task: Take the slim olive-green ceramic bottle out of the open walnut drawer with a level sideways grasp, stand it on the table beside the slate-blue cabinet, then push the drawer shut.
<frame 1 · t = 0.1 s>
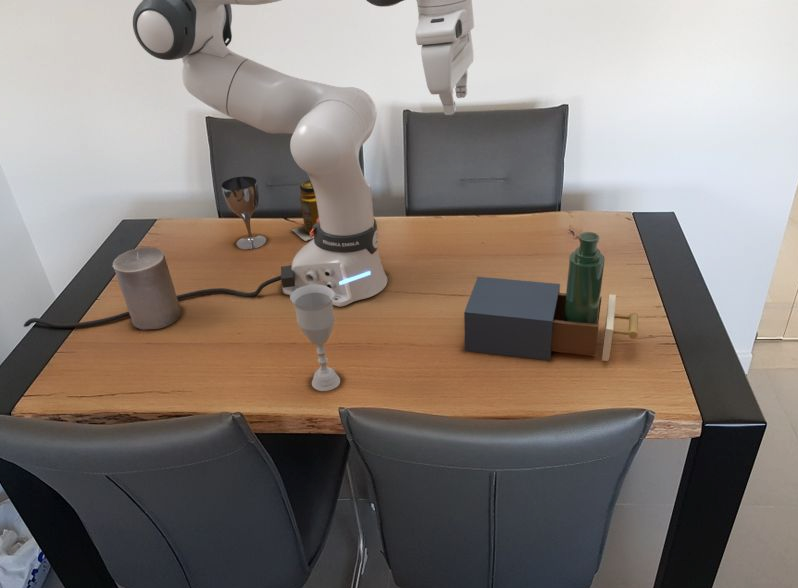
hand: (456, 104, 125), 39 cm above the table, tool pointing down, fingers open, 8 cm apart
cabinet: (511, 336, 134), on the table
pillar candle: (157, 318, 146), on the table
bottle: (579, 334, 130), point 2 cm above the table, touching drawer
chalice: (326, 382, 126), on the table
condiment: (314, 231, 174), on the table
shiny metal goblet: (251, 242, 171), on the table
drawer: (583, 324, 129), point 4 cm above the table, slide at 9.0 cm, touching bottle
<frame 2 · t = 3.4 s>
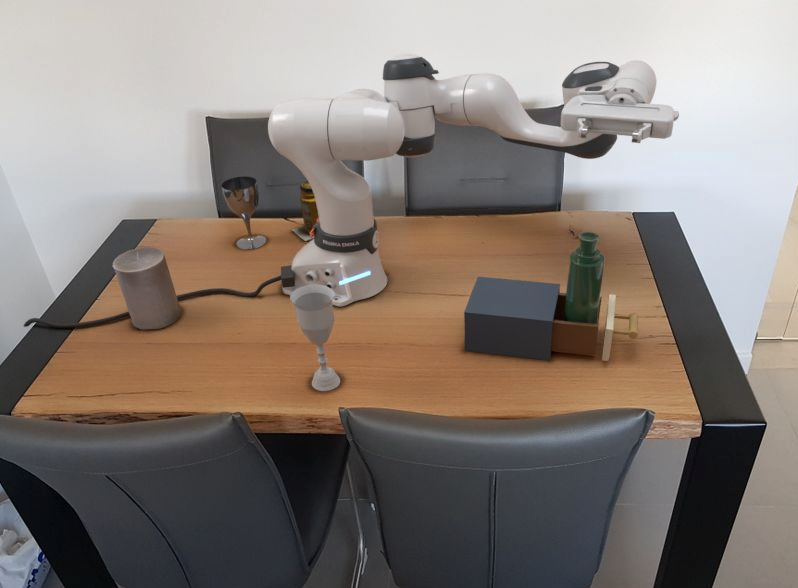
hand: (608, 136, 126), 32 cm above the table, tool horizontal, fingers open, 8 cm apart
nothing on the table moved.
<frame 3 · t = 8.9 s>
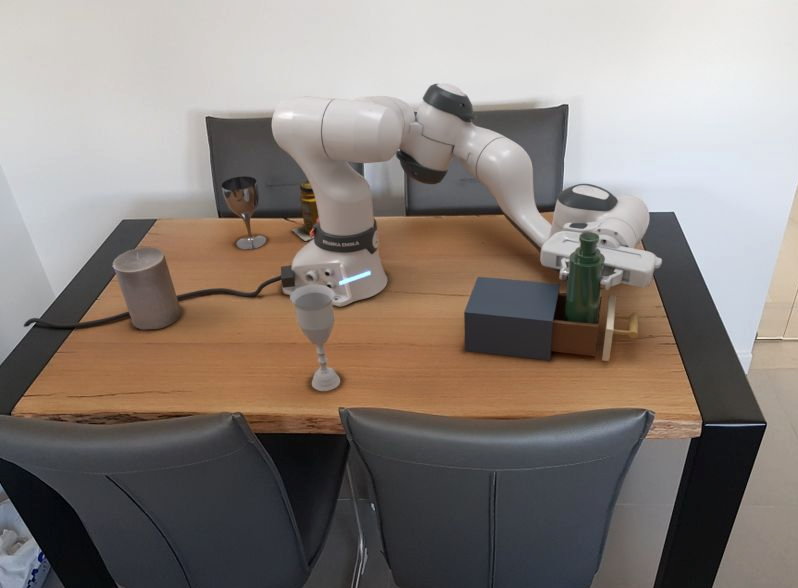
hand: (583, 281, 123), 14 cm above the table, tool horizontal, fingers closed on bottle, 6 cm apart
bottle: (579, 334, 130), point 2 cm above the table, touching drawer, gripper
everything else where it was.
when the fingers open (12 cm above the table, at t = 18.0 s): bottle stays where it is, on the table.
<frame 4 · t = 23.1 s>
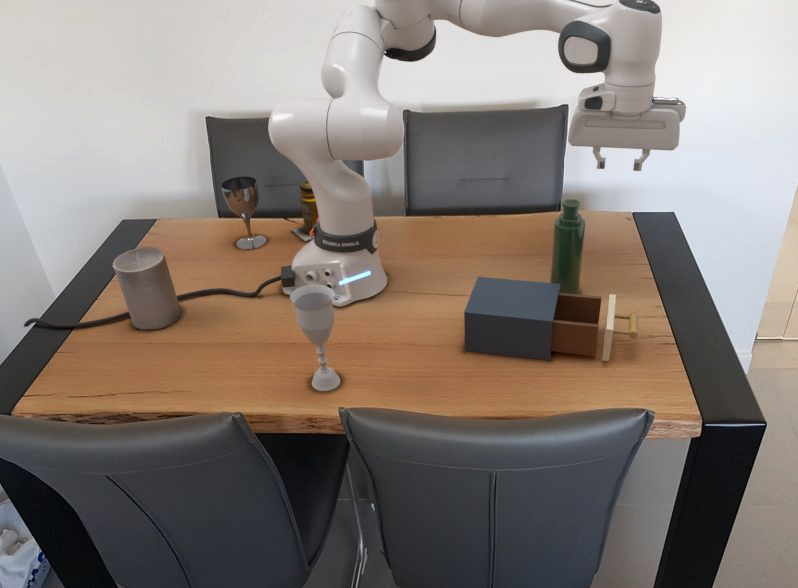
hand: (618, 168, 138), 23 cm above the table, tool pointing down, fingers open, 5 cm apart
bottle: (563, 293, 146), on the table
drawer: (583, 324, 129), point 4 cm above the table, slide at 9.0 cm
everything else where it was.
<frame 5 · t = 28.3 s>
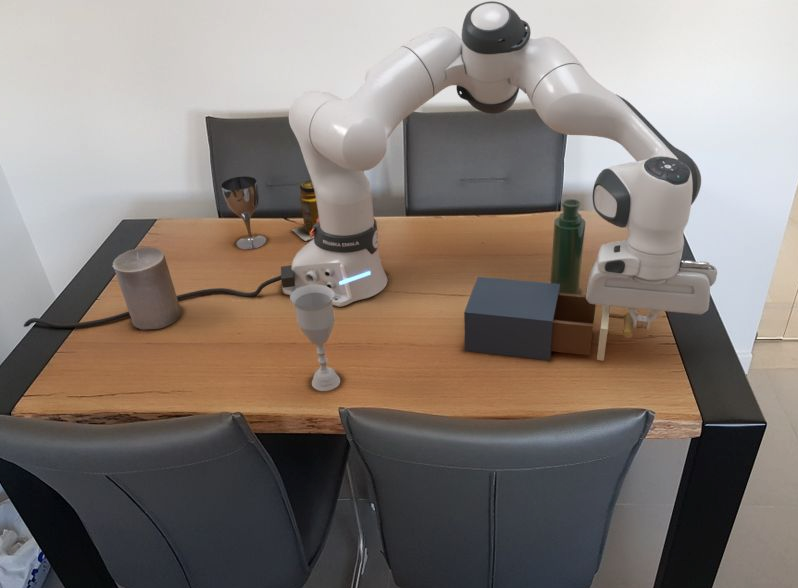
hand: (641, 326, 126), 5 cm above the table, tool pointing down, fingers closed
drawer: (578, 323, 129), point 4 cm above the table, slide at 8.1 cm
everything else where it was.
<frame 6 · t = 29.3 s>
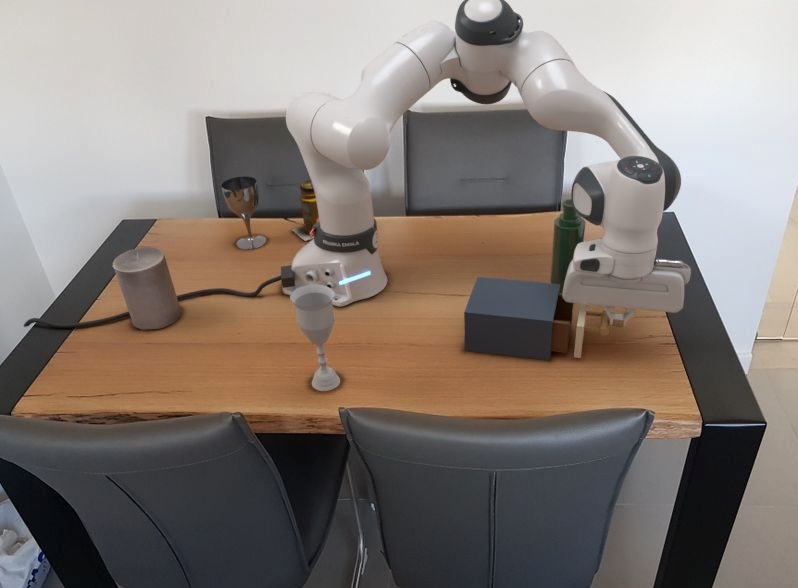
hand: (617, 325, 127), 5 cm above the table, tool pointing down, fingers closed
drawer: (556, 321, 130), point 4 cm above the table, slide at 4.1 cm, touching gripper
everything else where it was.
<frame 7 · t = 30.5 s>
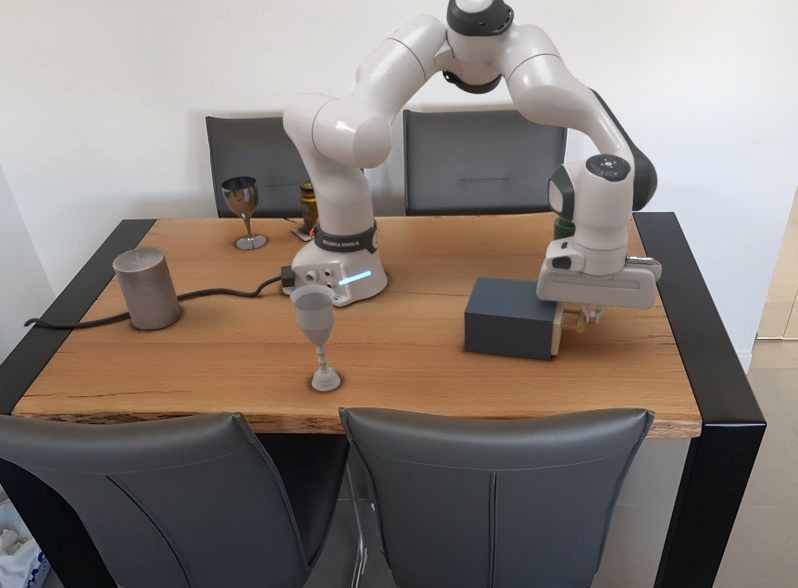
hand: (591, 322, 128), 5 cm above the table, tool pointing down, fingers closed
drawer: (533, 319, 131), point 4 cm above the table, slide at 0.0 cm, touching cabinet, gripper
everything else where it was.
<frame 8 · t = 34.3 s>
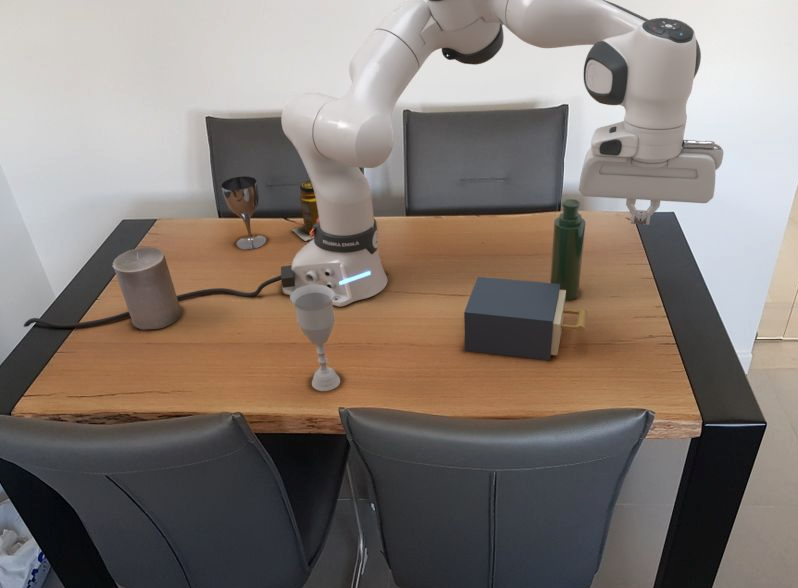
hand: (639, 222, 115), 25 cm above the table, tool pointing down, fingers closed
drawer: (533, 319, 131), point 4 cm above the table, slide at 0.0 cm
everything else where it was.
at the end: bottle inside the target area (0.1 cm from its centre), on the table; bottle tilted 0°; drawer slide at 0.0 cm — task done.
